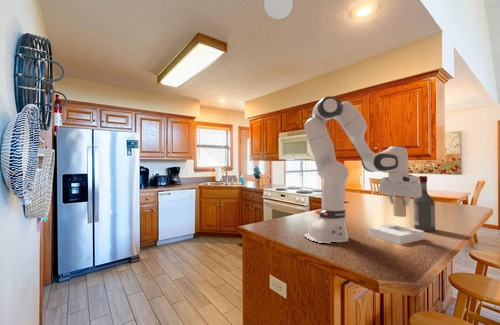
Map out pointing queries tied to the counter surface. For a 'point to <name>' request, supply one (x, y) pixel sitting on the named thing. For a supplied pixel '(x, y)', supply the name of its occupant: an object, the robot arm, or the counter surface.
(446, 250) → the counter surface
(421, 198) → the liquor
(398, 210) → the candle
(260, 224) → the counter surface
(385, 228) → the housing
